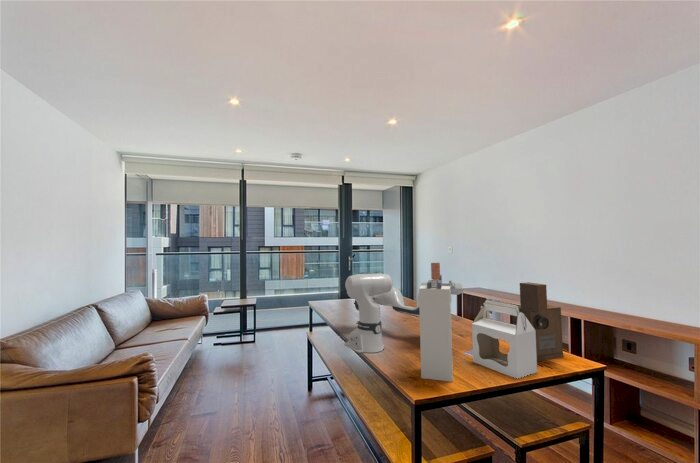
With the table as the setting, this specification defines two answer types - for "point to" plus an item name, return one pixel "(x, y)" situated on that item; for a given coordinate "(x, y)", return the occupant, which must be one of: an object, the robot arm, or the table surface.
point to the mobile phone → (469, 352)
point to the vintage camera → (542, 320)
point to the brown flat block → (435, 274)
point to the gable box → (518, 336)
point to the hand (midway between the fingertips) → (440, 281)
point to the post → (435, 332)
